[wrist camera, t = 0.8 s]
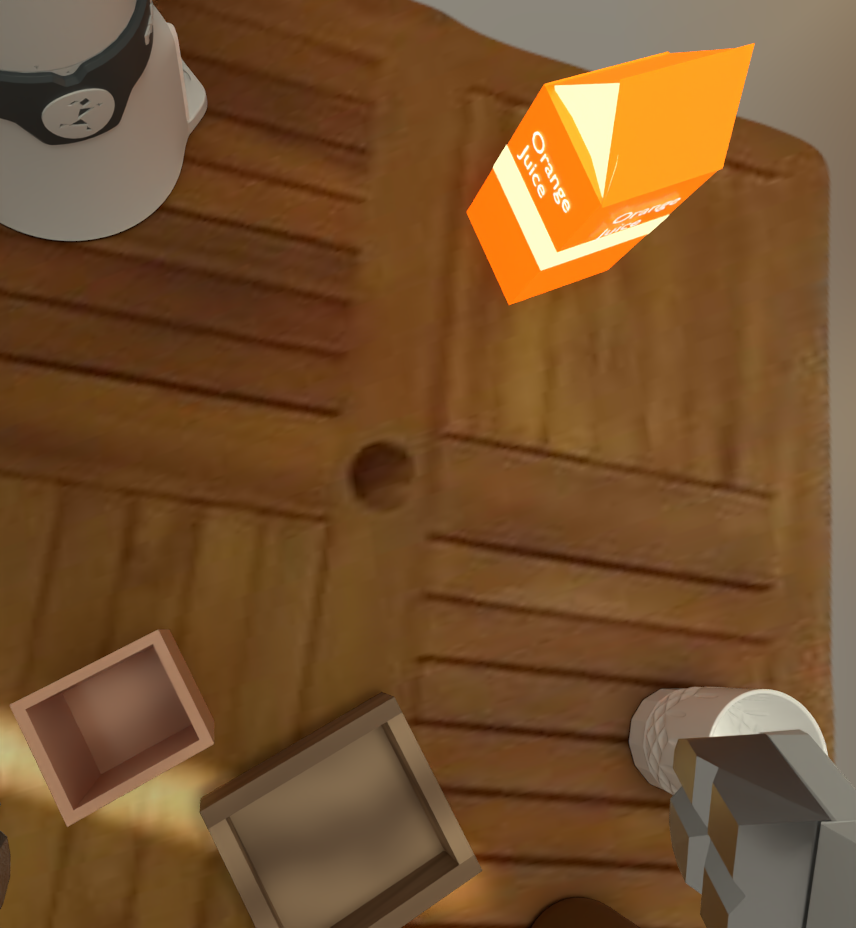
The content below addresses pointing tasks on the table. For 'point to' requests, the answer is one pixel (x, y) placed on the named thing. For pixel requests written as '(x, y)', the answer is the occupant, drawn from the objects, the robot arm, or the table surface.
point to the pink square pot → (115, 724)
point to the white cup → (707, 723)
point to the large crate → (341, 828)
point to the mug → (581, 915)
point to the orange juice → (604, 165)
